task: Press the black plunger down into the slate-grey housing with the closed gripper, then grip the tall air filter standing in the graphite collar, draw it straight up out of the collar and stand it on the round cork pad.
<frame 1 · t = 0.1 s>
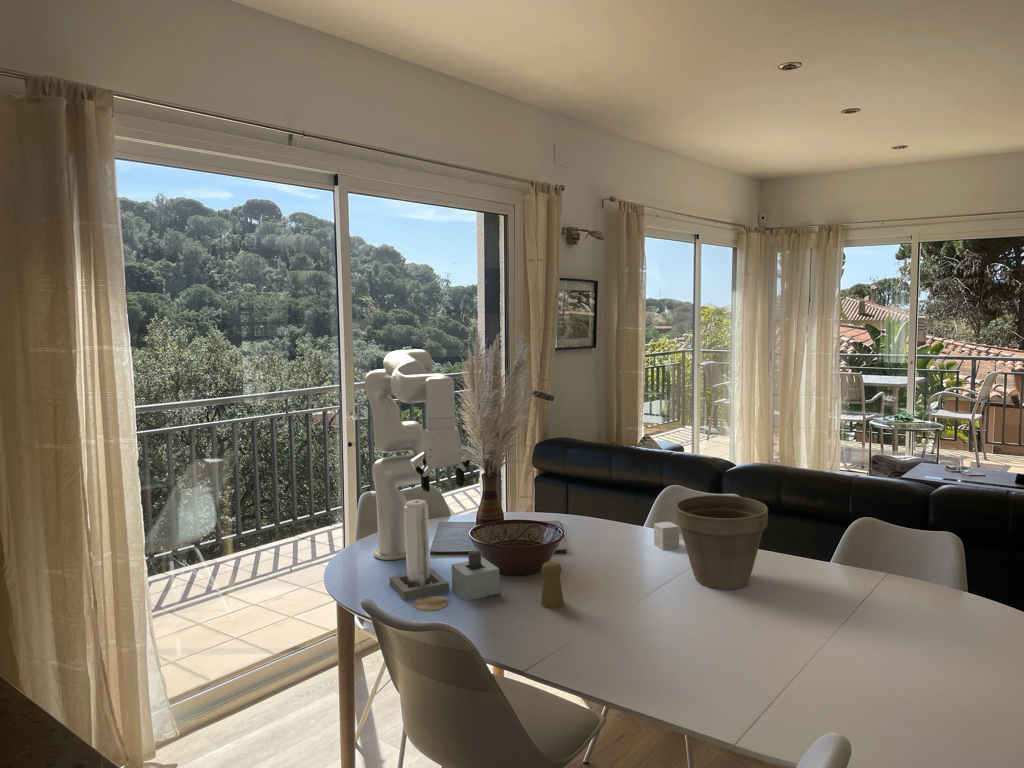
hand: (443, 488, 192), 31 cm above the table, tool pointing down, fingers open, 9 cm apart
housing: (475, 591, 202), on the table
plunger: (474, 559, 201), point 9 cm above the table, slide at 0.0 cm
collar: (419, 588, 205), on the table
grey cube: (666, 547, 236), on the table
pepper shaker: (552, 604, 192), on the table
air filter: (419, 589, 205), resting in collar
pad: (430, 603, 194), on the table
plant pot: (720, 581, 206), on the table
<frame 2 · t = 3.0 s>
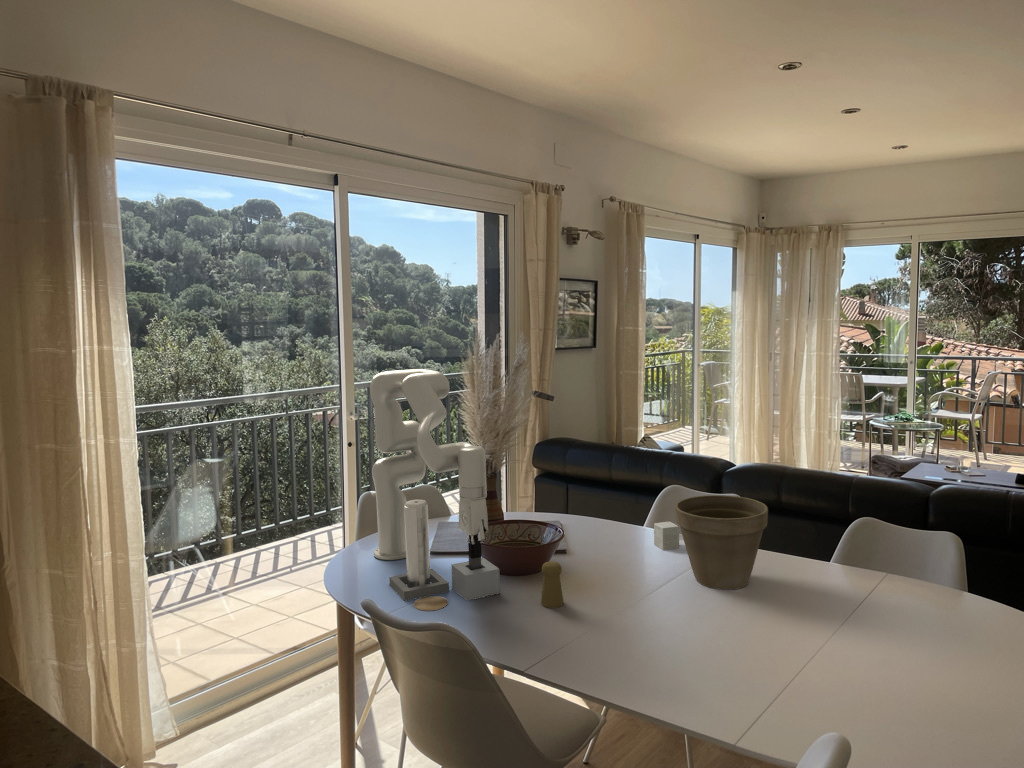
hand: (475, 556, 201), 10 cm above the table, tool pointing down, fingers closed
plunger: (475, 563, 201), point 8 cm above the table, slide at 1.2 cm, touching gripper
everything else where it was.
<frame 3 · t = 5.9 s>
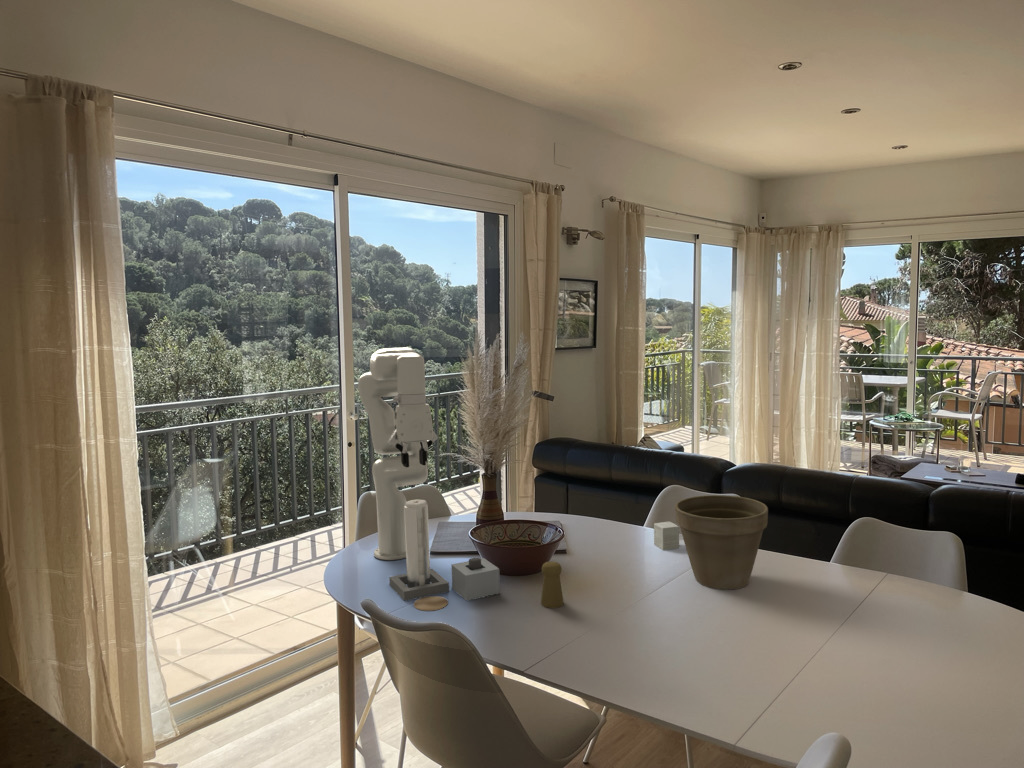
hand: (414, 464, 201), 35 cm above the table, tool pointing down, fingers open, 4 cm apart
plunger: (475, 566, 201), point 7 cm above the table, slide at 2.1 cm
everything else where it was.
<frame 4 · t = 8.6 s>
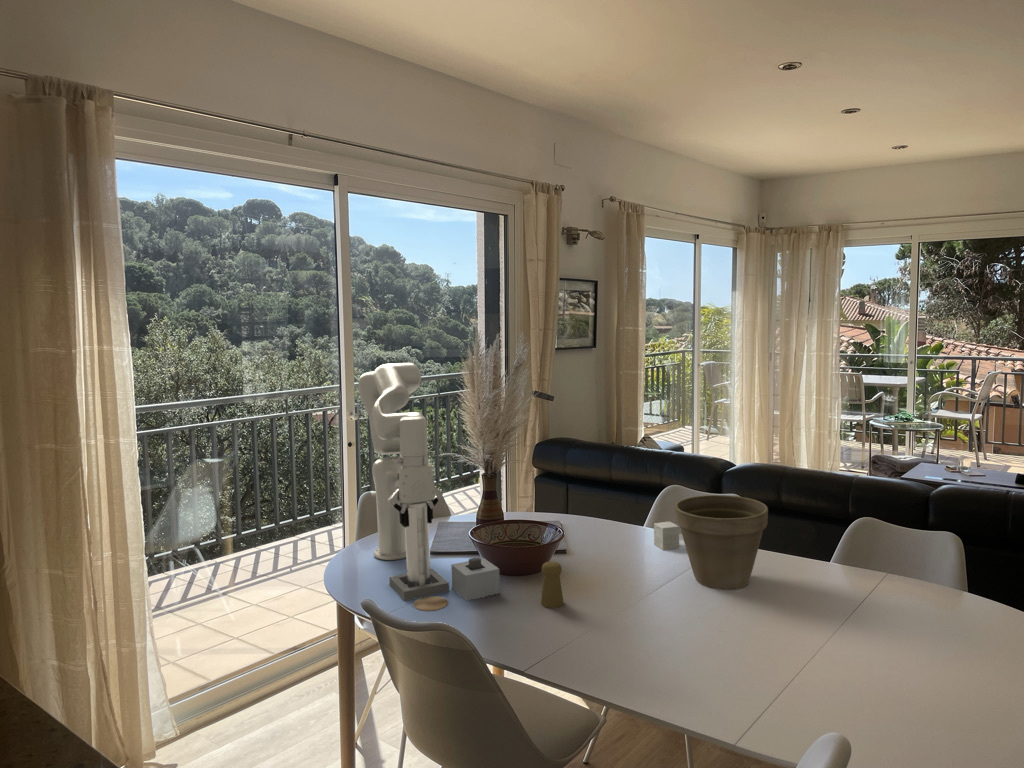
hand: (416, 523, 203), 19 cm above the table, tool pointing down, fingers closed on air filter, 6 cm apart
air filter: (419, 589, 205), resting in collar, touching gripper
everything else where it was.
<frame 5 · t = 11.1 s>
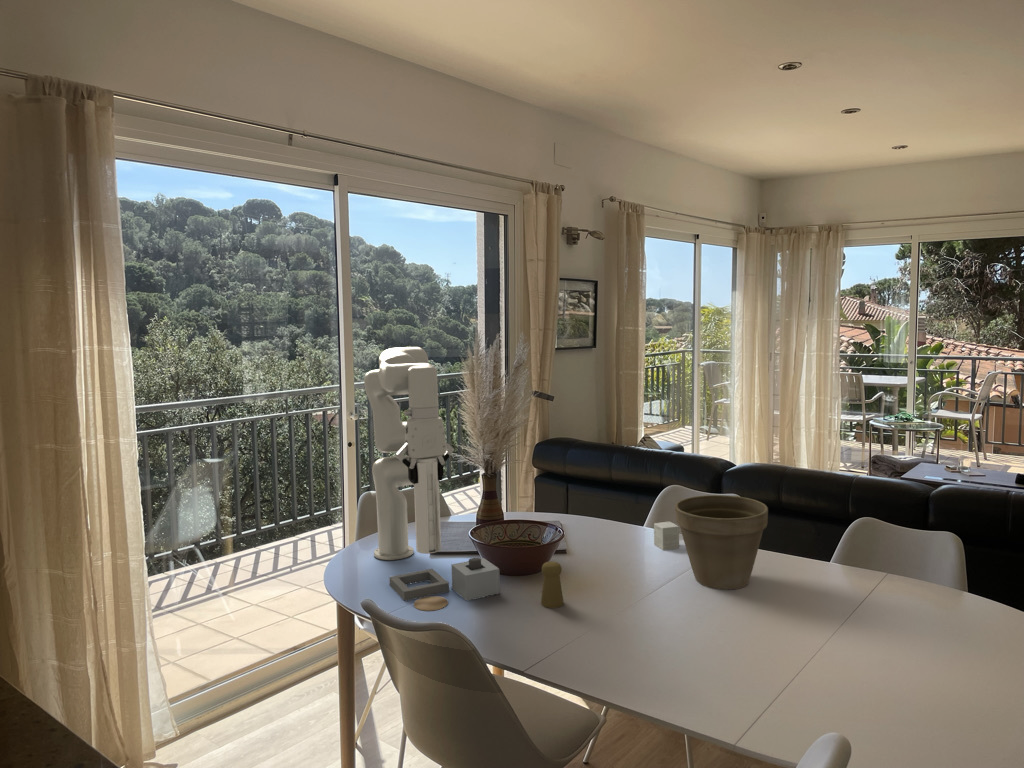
hand: (426, 480, 191), 33 cm above the table, tool pointing down, fingers closed on air filter, 6 cm apart
air filter: (428, 550, 193), point 15 cm above the table, touching gripper
everything else where it was.
when the fingers open (20 cm above the table, at t = 14.0 s): air filter stays where it is, resting on pad.
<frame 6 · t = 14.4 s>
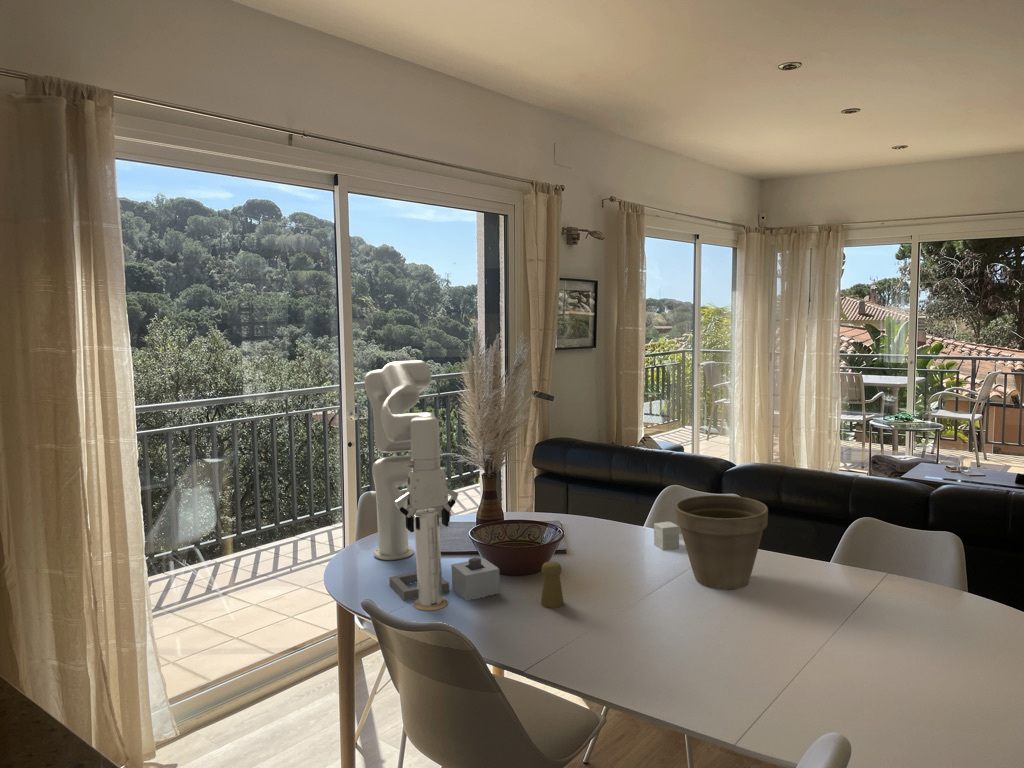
hand: (428, 528, 192), 21 cm above the table, tool pointing down, fingers open, 9 cm apart
air filter: (430, 602, 194), resting on pad
everything else where it was.
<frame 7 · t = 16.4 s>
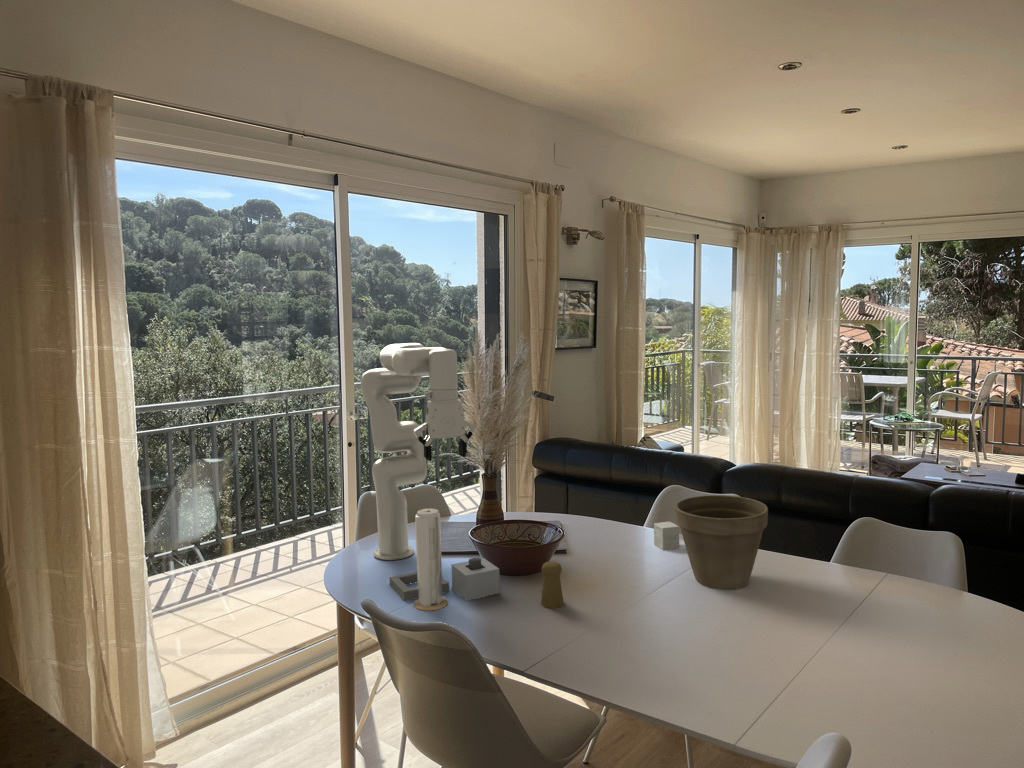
hand: (445, 458, 197), 38 cm above the table, tool pointing down, fingers open, 9 cm apart
nothing on the table moved.
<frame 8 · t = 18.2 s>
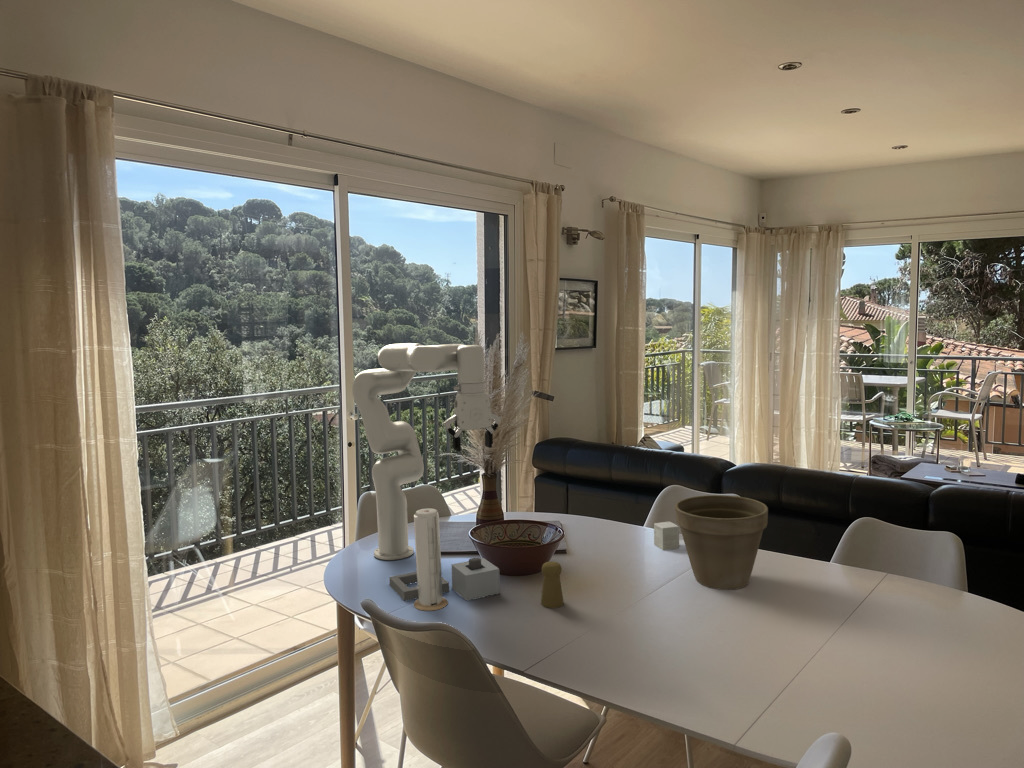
hand: (473, 448, 207), 38 cm above the table, tool pointing down, fingers open, 9 cm apart
nothing on the table moved.
at the end: plunger slide at 2.1 cm; air filter 0.2 cm from the pad (horizontally); air filter tilted 1° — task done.
